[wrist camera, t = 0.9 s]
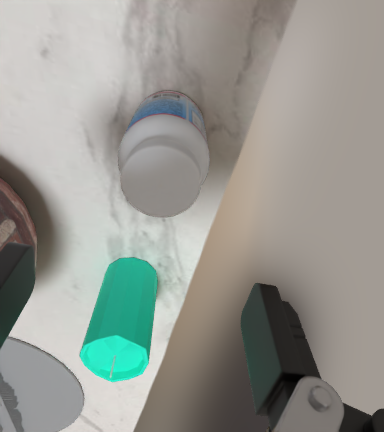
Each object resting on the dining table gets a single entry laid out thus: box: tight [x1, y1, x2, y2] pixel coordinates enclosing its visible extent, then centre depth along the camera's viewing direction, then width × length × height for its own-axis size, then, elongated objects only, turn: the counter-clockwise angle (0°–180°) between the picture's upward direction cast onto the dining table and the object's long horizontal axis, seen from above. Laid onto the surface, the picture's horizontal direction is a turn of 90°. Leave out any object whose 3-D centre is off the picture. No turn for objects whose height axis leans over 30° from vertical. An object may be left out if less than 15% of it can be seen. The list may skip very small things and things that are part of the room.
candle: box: [79, 257, 158, 382], centre depth 32 cm, size 6×6×12 cm
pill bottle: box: [118, 91, 210, 217], centre depth 23 cm, size 6×6×11 cm
